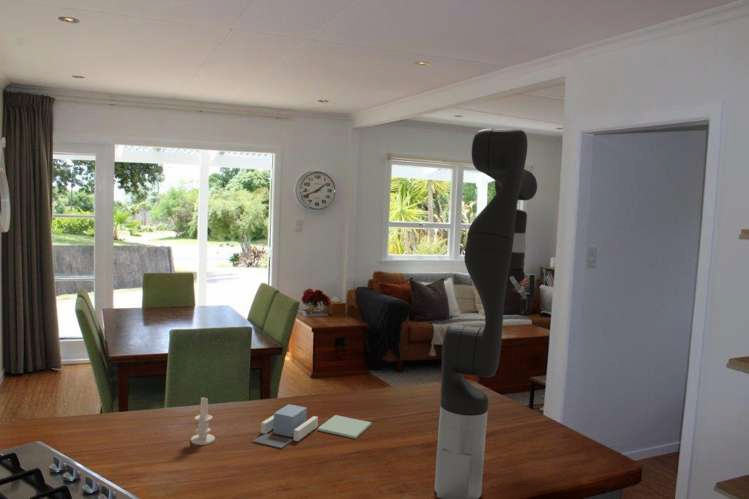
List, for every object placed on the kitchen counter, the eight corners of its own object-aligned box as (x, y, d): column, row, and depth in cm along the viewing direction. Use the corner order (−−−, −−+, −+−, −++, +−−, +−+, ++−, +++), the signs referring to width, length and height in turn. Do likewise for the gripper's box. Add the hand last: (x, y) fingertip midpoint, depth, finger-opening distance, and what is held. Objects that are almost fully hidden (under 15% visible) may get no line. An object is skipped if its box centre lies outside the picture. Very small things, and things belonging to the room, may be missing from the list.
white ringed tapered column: (204, 433, 142) (205, 390, 141) (219, 440, 139) (221, 395, 138) (185, 440, 137) (187, 395, 136) (201, 447, 134) (202, 401, 133)
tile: (355, 438, 144) (355, 436, 144) (317, 430, 148) (317, 428, 148) (371, 424, 153) (371, 422, 153) (335, 417, 157) (335, 414, 157)
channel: (286, 450, 135) (286, 439, 135) (248, 441, 139) (248, 430, 139) (317, 426, 150) (318, 416, 150) (282, 419, 153) (282, 409, 153)
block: (291, 437, 143) (292, 416, 142) (273, 433, 145) (274, 413, 144) (305, 427, 149) (306, 407, 149) (287, 423, 151) (288, 404, 151)
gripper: (480, 248, 158) (475, 309, 159) (536, 253, 153) (531, 316, 154) (486, 246, 165) (481, 305, 166) (540, 251, 160) (534, 312, 161)
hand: (505, 310), depth 160 cm, fingers open, 8 cm apart
